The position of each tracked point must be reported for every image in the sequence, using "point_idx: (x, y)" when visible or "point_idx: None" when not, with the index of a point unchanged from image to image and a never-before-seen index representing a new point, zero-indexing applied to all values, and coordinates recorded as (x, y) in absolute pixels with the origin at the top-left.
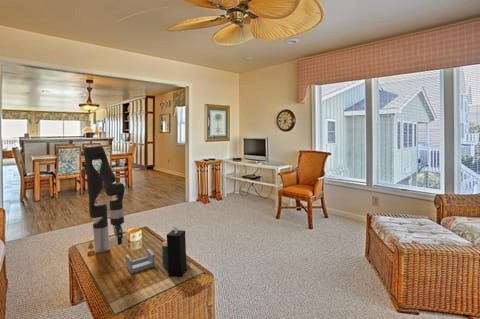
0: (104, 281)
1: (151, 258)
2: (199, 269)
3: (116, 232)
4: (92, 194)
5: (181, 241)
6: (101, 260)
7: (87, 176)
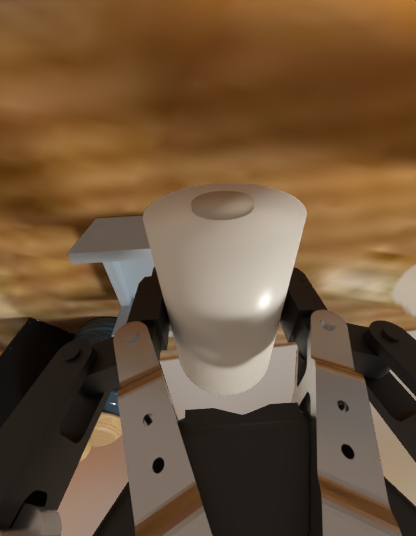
0: (43, 56)
1: (127, 317)
2: None
3: (126, 454)
4: None
5: None
6: (370, 86)
7: None
